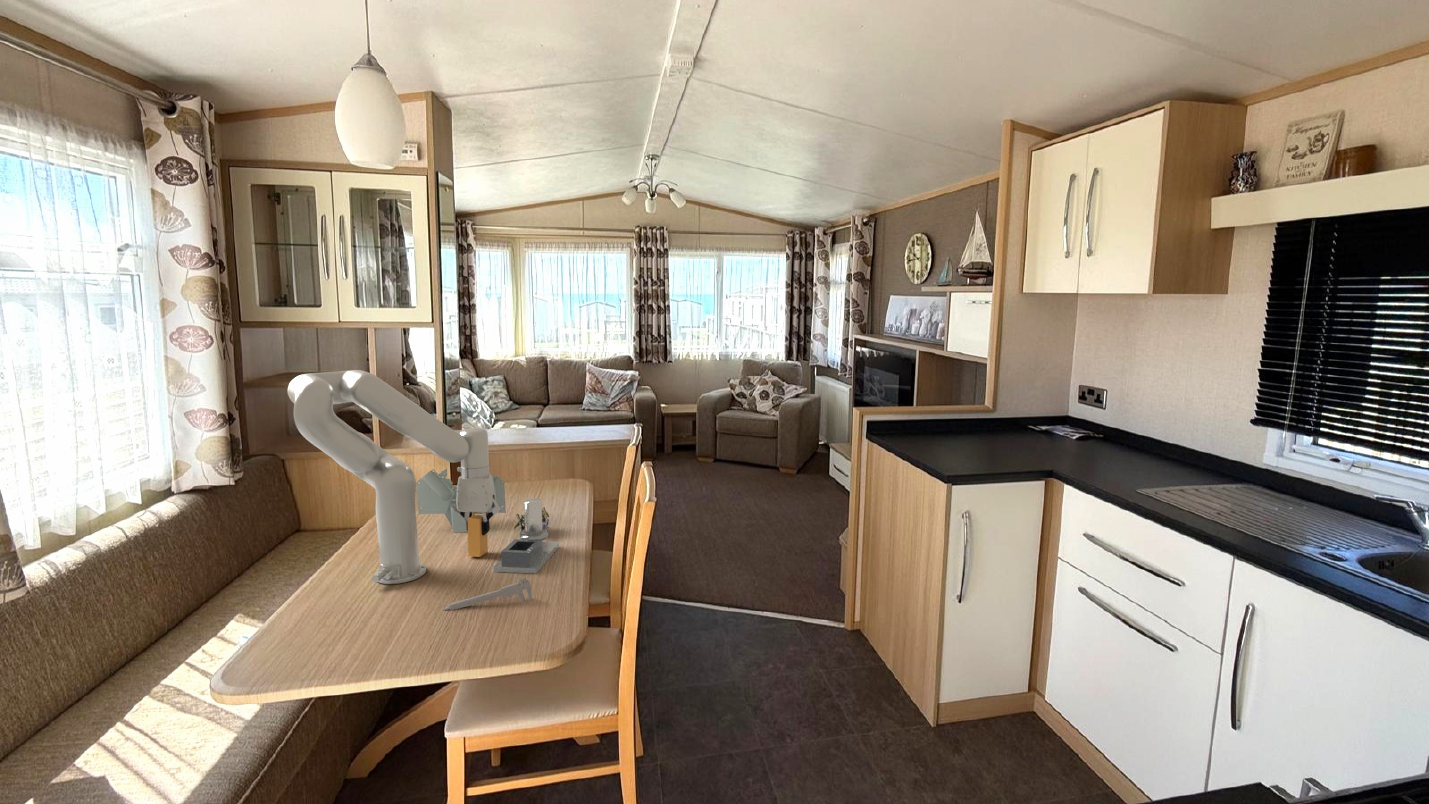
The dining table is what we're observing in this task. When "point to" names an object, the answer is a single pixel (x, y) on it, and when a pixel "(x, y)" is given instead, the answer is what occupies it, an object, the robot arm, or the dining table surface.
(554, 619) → the dining table surface
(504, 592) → the caliper
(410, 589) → the dining table surface
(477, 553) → the tan rectangular block
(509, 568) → the gray socket post fixture
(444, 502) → the bracket
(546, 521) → the passion flower
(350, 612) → the dining table surface
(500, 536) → the dining table surface
